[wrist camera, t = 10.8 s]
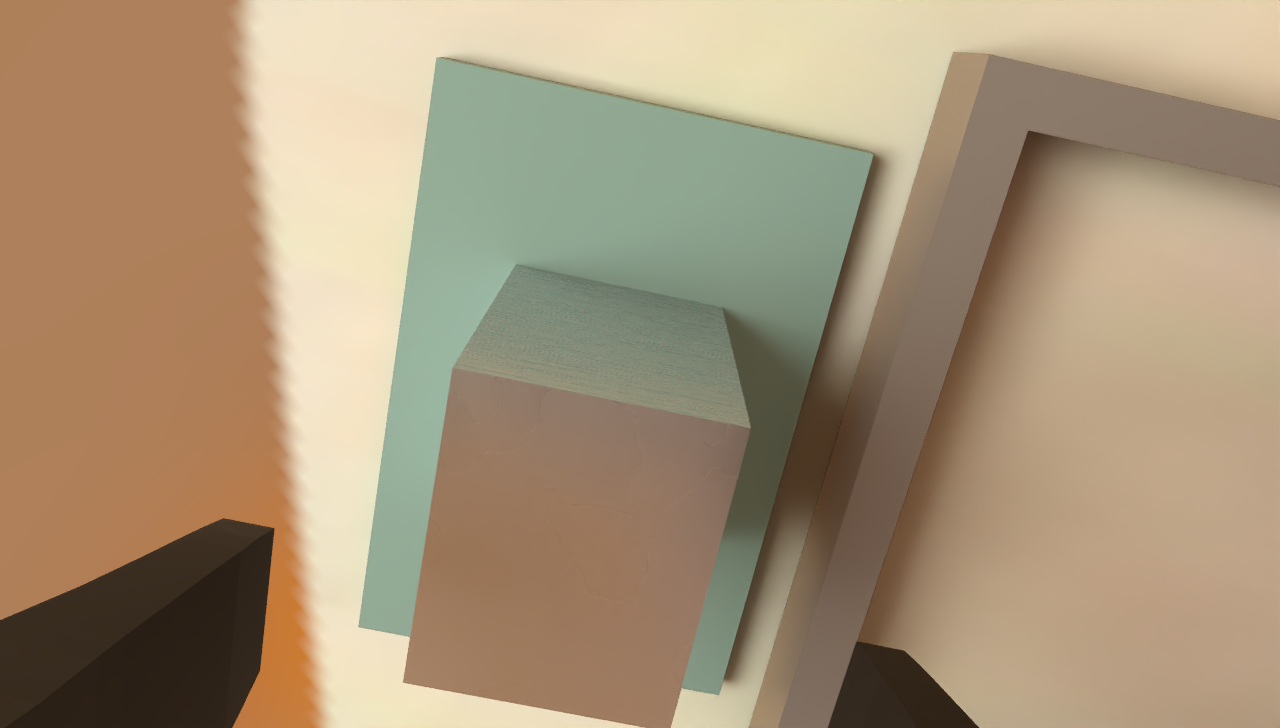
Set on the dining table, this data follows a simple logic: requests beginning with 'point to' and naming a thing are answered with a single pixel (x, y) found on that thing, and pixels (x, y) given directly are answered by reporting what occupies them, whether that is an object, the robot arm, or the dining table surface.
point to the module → (579, 499)
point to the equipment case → (953, 326)
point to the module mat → (611, 282)
